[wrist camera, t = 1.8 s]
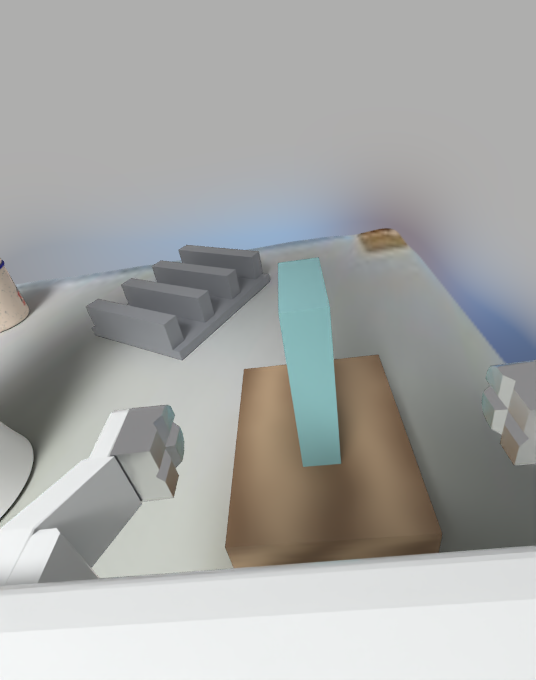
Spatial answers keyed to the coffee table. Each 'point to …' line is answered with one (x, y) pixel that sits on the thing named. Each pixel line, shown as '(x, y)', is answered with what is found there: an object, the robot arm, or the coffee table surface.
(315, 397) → the aqua rubber eraser
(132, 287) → the slotted rack
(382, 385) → the block
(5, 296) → the teacup with lid
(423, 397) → the coffee table surface
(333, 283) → the coffee table surface
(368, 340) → the coffee table surface
